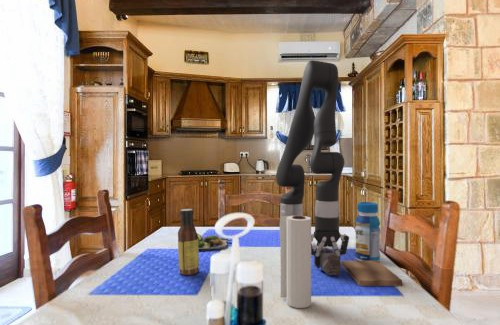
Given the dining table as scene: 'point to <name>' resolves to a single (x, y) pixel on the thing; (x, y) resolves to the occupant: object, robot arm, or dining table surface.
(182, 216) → the sauce bottle
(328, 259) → the perforated stone tool
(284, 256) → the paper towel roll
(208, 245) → the salad plate
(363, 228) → the beverage bottle
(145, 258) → the dining table surface
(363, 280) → the walnut board
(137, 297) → the dining table surface
